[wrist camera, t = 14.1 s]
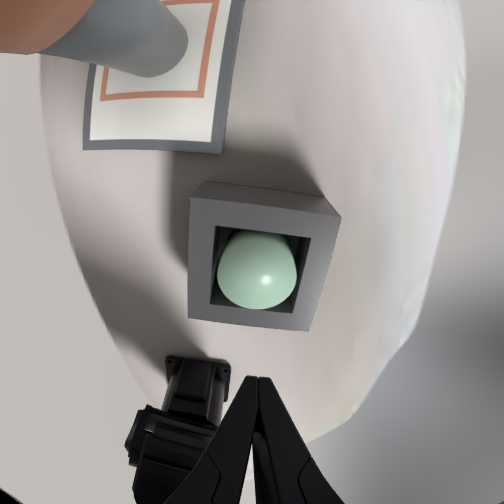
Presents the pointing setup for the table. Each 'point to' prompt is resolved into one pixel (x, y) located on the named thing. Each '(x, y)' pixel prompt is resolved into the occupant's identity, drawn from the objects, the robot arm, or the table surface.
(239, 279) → the button
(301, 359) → the table surface
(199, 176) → the table surface
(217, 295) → the button housing
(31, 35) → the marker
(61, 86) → the table surface
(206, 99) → the board
